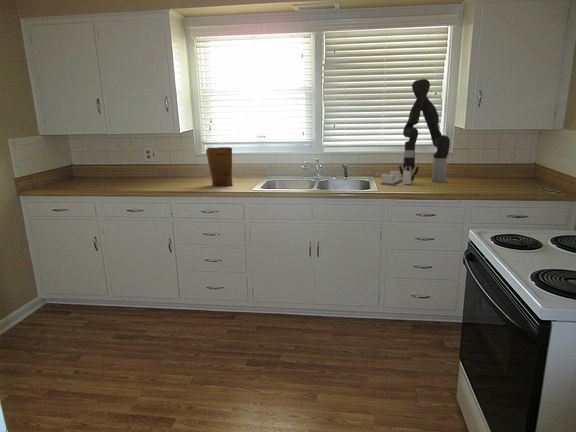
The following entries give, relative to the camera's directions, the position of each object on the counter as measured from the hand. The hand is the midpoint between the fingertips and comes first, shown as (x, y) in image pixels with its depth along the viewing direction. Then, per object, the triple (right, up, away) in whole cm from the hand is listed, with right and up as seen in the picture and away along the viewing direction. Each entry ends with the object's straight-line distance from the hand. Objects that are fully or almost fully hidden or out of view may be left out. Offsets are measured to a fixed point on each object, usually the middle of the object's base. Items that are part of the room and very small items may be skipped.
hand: (408, 180), depth 304 cm
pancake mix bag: (-134, -4, +7) cm, 134 cm away
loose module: (0, -2, +1) cm, 2 cm away
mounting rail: (-10, -1, +6) cm, 12 cm away
